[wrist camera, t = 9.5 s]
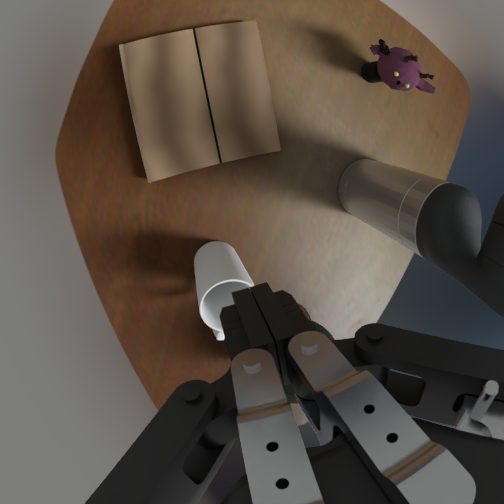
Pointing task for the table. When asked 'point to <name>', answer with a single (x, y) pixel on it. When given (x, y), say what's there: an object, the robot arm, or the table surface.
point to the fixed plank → (237, 90)
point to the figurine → (396, 69)
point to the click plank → (168, 104)
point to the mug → (218, 281)
